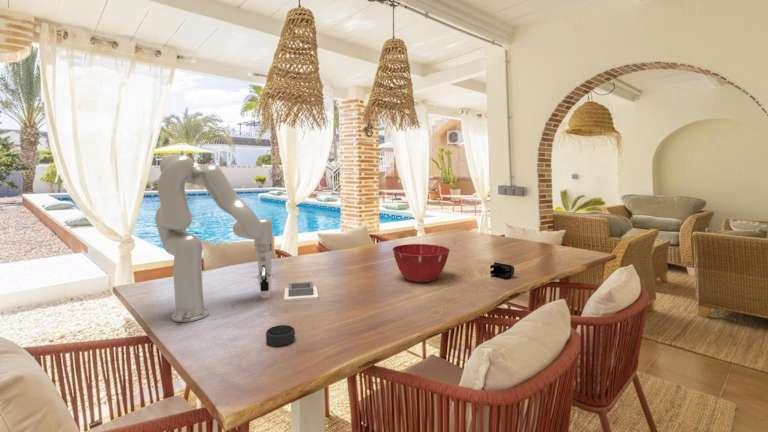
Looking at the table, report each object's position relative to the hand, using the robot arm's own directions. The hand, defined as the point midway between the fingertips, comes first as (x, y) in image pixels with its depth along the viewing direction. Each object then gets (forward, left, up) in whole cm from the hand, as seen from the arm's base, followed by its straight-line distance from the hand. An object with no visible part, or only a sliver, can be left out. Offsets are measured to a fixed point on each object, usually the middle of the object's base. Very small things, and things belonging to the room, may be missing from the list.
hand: (265, 288), depth 174 cm
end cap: (+6, -115, -4) cm, 115 cm away
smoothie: (0, 0, -4) cm, 4 cm away
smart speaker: (-49, -8, -4) cm, 50 cm away
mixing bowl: (+12, -74, -4) cm, 75 cm away
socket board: (0, -15, -4) cm, 15 cm away
